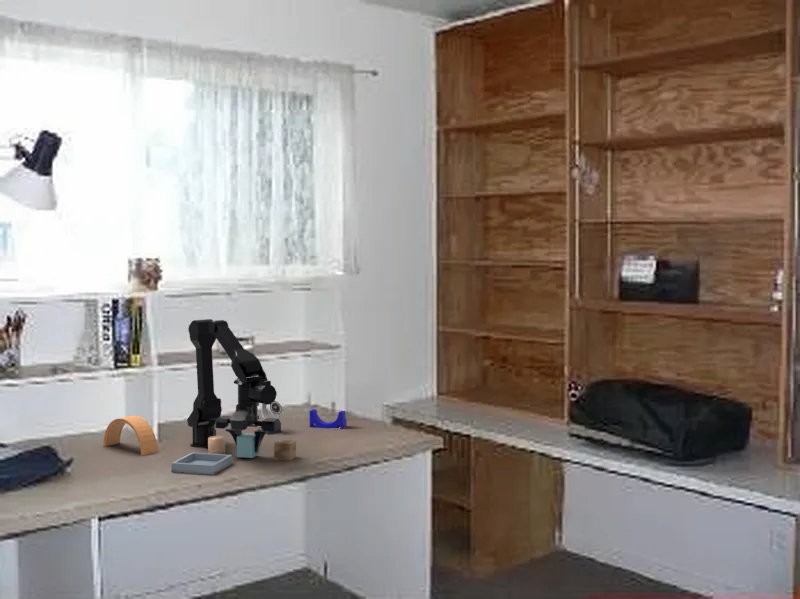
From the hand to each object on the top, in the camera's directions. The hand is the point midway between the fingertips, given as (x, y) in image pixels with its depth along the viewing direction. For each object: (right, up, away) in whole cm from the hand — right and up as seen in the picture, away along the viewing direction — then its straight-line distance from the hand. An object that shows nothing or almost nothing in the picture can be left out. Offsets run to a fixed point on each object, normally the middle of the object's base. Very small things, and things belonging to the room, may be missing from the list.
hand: (248, 451), depth 260 cm
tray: (-11, -2, -12) cm, 16 cm away
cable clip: (+20, +1, +43) cm, 48 cm away
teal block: (0, -1, 0) cm, 1 cm away
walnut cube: (+11, -2, 0) cm, 11 cm away
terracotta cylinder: (-10, -1, +5) cm, 11 cm away
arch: (-38, -1, +10) cm, 40 cm away
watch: (+2, 0, +35) cm, 35 cm away
